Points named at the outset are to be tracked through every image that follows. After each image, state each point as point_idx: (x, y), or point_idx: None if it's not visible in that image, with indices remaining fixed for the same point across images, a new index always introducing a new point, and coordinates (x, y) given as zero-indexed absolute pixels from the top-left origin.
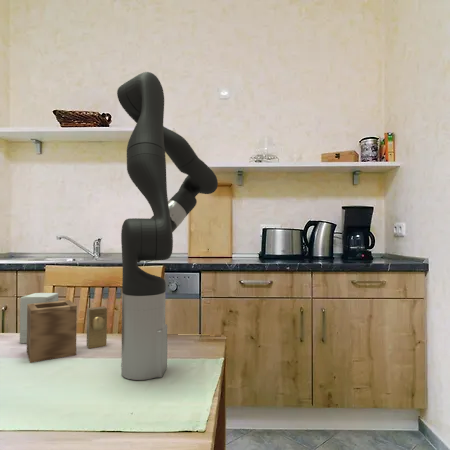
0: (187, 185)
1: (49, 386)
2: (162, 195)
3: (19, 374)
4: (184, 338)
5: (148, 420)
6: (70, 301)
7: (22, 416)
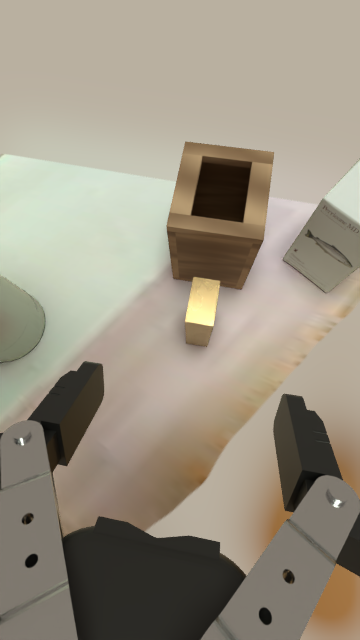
0: None
1: (72, 209)
2: None
3: (146, 192)
4: None
5: None
6: (239, 234)
7: (17, 170)
